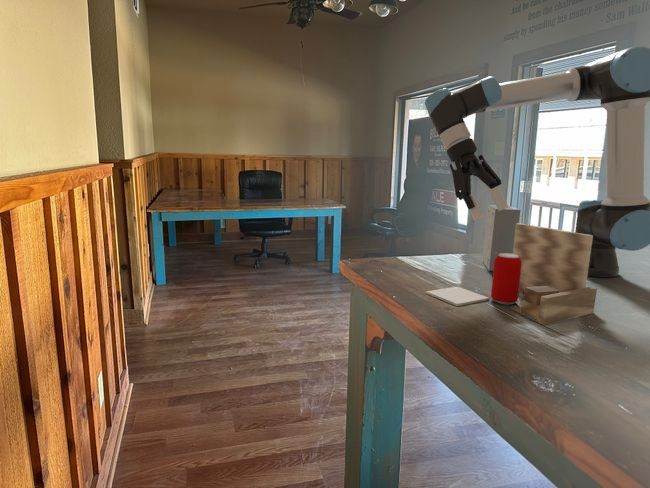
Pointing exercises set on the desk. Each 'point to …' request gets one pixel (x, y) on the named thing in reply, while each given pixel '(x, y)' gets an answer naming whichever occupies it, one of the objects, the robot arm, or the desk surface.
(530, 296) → the offcut upper
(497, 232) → the hard drive box
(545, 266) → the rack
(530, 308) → the offcut lower
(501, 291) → the beverage can
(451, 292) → the felt pad
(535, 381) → the desk surface
